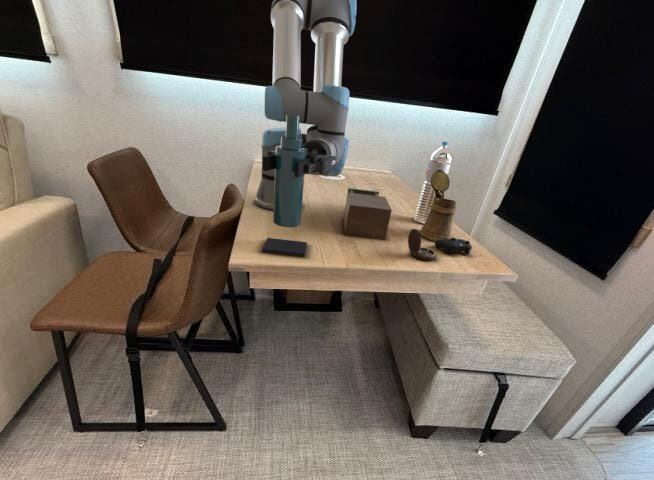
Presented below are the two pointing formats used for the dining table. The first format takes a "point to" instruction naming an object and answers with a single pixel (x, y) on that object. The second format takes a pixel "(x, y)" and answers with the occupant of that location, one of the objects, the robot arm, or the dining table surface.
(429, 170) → the water bottle
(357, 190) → the drawer
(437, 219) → the wooden mug
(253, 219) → the dining table surface
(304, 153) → the bottle
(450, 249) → the game controller
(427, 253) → the compass
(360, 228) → the brown wooden box
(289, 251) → the mat
